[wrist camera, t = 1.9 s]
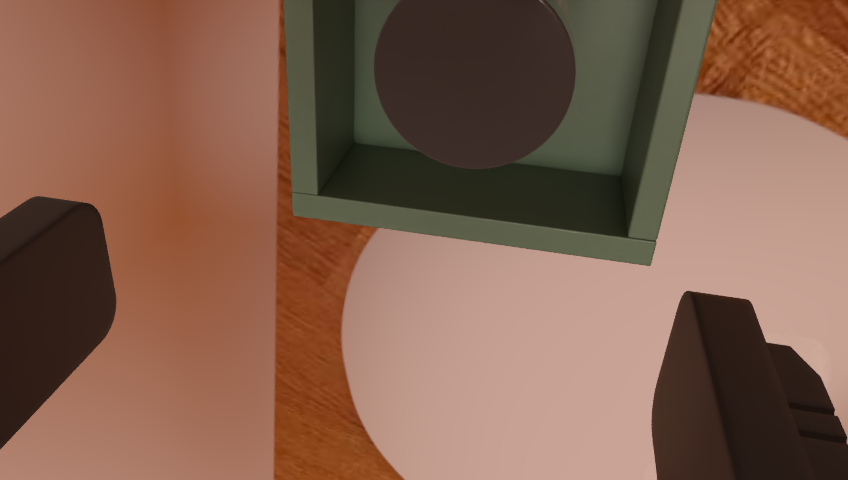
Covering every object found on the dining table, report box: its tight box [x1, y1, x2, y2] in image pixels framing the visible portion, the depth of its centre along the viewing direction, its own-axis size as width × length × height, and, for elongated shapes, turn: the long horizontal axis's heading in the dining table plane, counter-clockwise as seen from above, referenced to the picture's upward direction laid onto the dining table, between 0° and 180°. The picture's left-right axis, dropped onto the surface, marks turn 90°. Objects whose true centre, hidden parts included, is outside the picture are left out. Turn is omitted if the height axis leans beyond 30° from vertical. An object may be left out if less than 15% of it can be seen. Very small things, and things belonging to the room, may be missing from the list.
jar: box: [374, 0, 576, 169], centre depth 23 cm, size 6×6×8 cm
